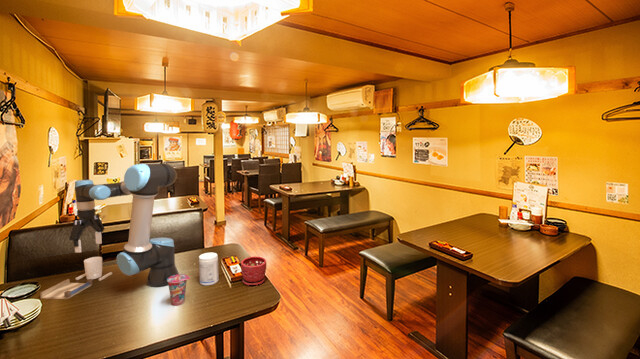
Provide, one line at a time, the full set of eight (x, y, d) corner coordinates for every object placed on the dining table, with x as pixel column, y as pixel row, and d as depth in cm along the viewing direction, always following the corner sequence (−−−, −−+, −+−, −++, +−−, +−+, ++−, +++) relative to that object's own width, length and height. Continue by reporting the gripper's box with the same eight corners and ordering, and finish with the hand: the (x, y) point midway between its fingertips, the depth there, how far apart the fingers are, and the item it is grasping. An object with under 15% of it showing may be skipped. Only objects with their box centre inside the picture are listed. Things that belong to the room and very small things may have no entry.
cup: (168, 309, 126) (166, 283, 125) (168, 300, 134) (166, 276, 132) (191, 304, 130) (190, 279, 129) (190, 296, 138) (189, 272, 137)
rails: (112, 274, 161) (112, 272, 161) (100, 280, 153) (100, 278, 153) (88, 273, 161) (88, 271, 161) (75, 279, 153) (75, 278, 153)
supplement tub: (208, 276, 159) (207, 251, 157) (222, 279, 156) (221, 253, 154) (195, 284, 150) (194, 257, 148) (210, 287, 147) (209, 259, 145)
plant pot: (236, 285, 149) (235, 263, 148) (251, 275, 161) (251, 254, 160) (257, 290, 144) (257, 267, 143) (271, 279, 156) (271, 258, 155)
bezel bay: (92, 284, 148) (92, 279, 147) (68, 299, 134) (67, 292, 134) (68, 284, 148) (67, 278, 148) (40, 298, 134) (40, 291, 134)
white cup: (93, 280, 152) (91, 262, 151) (81, 279, 154) (79, 261, 153) (106, 274, 160) (105, 257, 159) (95, 273, 162) (94, 256, 161)
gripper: (97, 204, 164) (100, 240, 166) (57, 214, 139) (61, 256, 142) (110, 204, 164) (112, 240, 166) (72, 214, 139) (76, 256, 141)
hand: (89, 247), depth 154 cm, fingers open, 13 cm apart
